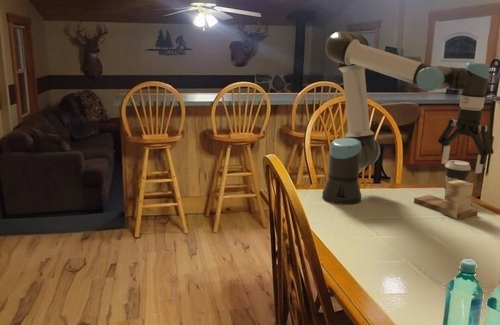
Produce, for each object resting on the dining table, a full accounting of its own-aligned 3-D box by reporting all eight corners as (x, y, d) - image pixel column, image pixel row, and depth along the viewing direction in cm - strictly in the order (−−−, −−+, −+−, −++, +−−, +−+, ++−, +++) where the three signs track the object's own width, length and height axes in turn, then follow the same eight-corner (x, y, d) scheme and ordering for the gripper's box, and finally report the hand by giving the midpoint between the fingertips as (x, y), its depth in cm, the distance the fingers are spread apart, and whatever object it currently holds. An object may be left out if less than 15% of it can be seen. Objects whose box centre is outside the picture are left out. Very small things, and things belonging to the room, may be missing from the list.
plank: (413, 202, 183) (414, 197, 183) (429, 199, 188) (429, 194, 187) (461, 219, 166) (462, 214, 165) (477, 215, 170) (478, 210, 170)
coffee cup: (444, 193, 197) (448, 158, 194) (468, 198, 192) (473, 162, 188) (438, 198, 190) (442, 162, 186) (463, 203, 184) (468, 166, 181)
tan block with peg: (440, 213, 171) (445, 182, 169) (458, 209, 176) (462, 179, 174) (455, 218, 166) (459, 186, 164) (472, 214, 171) (477, 183, 169)
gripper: (433, 103, 170) (425, 160, 176) (498, 114, 150) (487, 178, 155) (446, 103, 174) (438, 158, 180) (512, 113, 154) (500, 176, 159)
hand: (460, 168), depth 167 cm, fingers open, 13 cm apart
